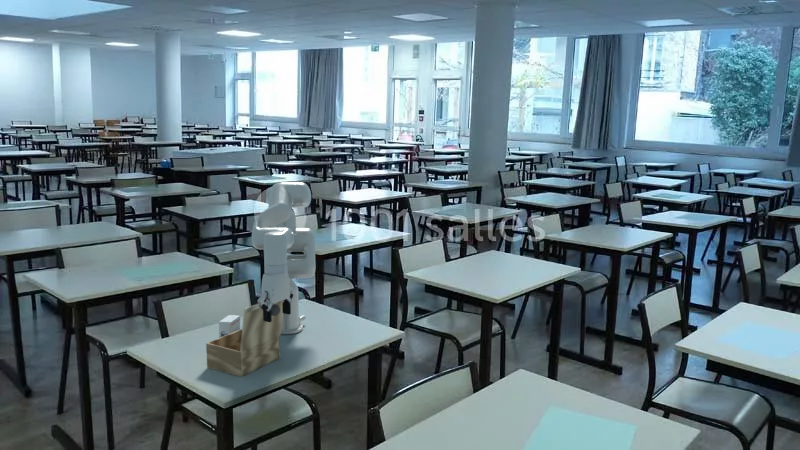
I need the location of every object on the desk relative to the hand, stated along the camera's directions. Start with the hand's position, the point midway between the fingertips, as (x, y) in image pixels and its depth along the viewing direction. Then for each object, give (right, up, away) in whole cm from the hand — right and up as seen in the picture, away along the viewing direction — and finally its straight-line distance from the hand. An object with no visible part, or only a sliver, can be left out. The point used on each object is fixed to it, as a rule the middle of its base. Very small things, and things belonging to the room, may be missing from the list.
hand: (277, 317), depth 214 cm
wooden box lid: (-6, -2, +4) cm, 7 cm away
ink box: (-23, -16, +26) cm, 38 cm away
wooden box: (-14, -18, +11) cm, 26 cm away
